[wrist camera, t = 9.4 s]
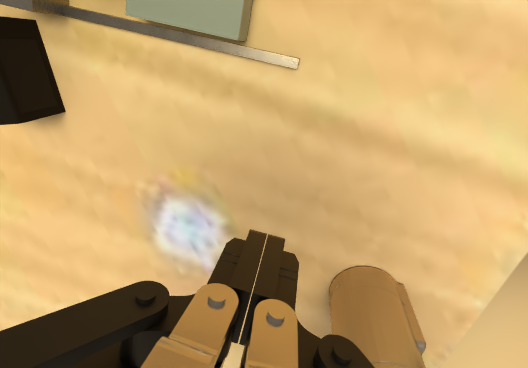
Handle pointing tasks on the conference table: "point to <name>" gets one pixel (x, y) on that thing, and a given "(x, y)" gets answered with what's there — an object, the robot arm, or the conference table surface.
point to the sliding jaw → (197, 15)
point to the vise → (150, 30)
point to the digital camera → (25, 74)
